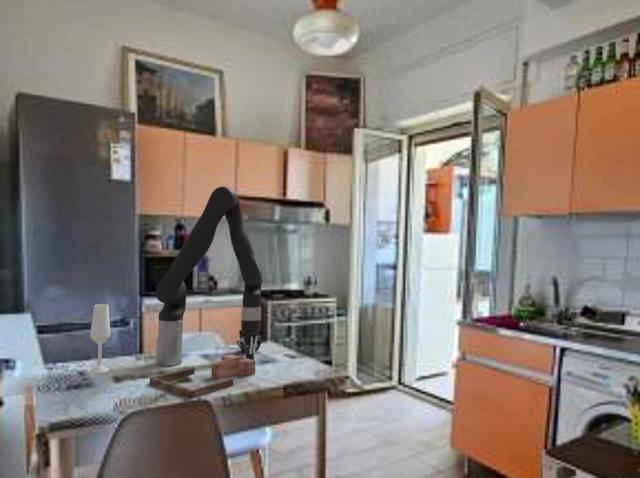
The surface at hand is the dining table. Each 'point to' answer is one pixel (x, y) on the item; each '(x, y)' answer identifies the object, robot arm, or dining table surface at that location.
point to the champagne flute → (100, 332)
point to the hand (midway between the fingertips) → (249, 363)
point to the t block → (232, 367)
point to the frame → (162, 383)
